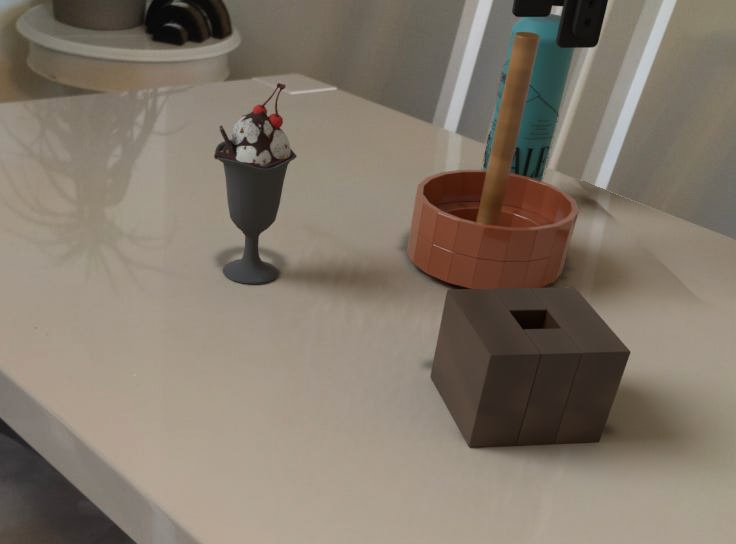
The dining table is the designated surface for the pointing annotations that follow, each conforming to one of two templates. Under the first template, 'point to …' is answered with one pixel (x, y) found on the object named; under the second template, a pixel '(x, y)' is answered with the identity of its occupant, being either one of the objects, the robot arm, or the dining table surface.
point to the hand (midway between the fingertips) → (552, 30)
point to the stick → (507, 126)
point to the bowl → (490, 232)
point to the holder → (526, 366)
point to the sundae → (254, 185)
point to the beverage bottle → (537, 96)
